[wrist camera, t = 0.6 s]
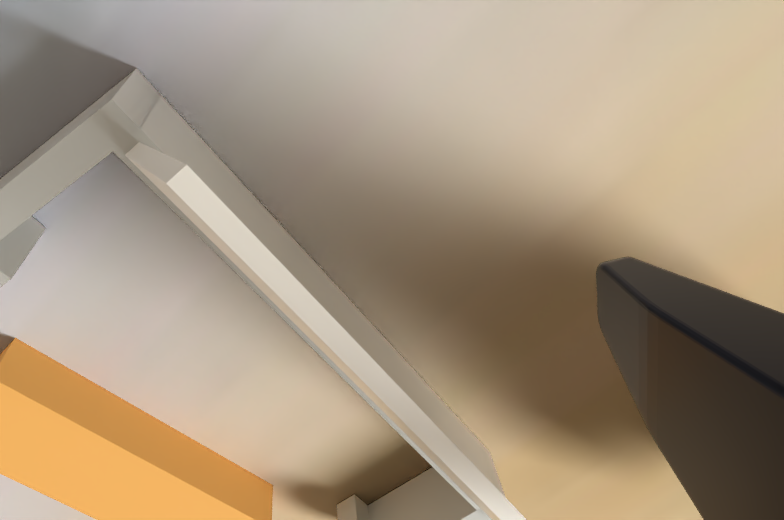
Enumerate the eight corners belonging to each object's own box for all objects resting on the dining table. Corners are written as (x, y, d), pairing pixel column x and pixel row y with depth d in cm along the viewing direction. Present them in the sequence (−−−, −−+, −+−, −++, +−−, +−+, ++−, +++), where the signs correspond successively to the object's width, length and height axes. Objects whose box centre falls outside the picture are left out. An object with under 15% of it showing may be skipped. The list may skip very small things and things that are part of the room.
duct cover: (482, 510, 26) (491, 501, 26) (600, 619, 21) (610, 606, 21) (124, 154, 18) (139, 142, 18) (166, 183, 12) (186, 164, 12)
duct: (489, 452, 30) (510, 510, 27) (362, 526, 31) (369, 589, 28) (136, 68, 20) (111, 99, 17) (-28, 201, 21) (-76, 250, 19)
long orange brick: (272, 479, 29) (271, 528, 27) (219, 523, 30) (213, 575, 28) (19, 331, 24) (-9, 378, 22) (-36, 391, 25) (-68, 441, 23)
